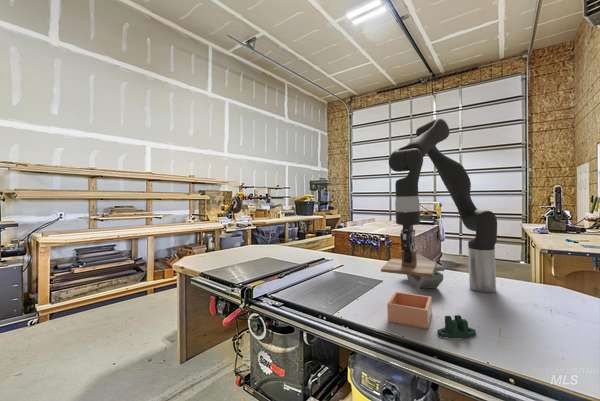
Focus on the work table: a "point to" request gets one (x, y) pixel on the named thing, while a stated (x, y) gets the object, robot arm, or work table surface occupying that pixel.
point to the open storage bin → (410, 309)
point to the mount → (456, 328)
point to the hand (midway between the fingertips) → (409, 260)
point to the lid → (410, 266)
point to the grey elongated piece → (427, 281)
